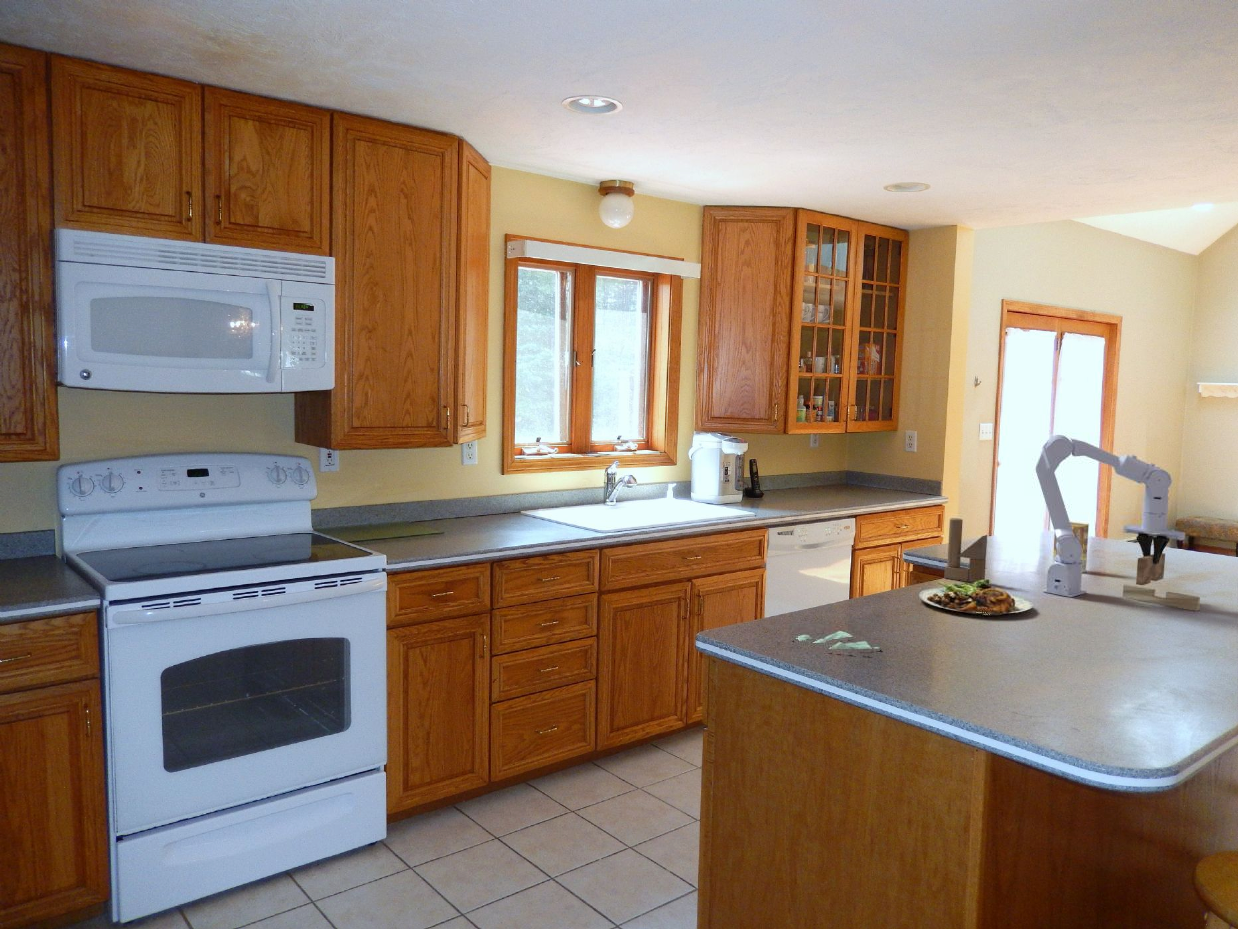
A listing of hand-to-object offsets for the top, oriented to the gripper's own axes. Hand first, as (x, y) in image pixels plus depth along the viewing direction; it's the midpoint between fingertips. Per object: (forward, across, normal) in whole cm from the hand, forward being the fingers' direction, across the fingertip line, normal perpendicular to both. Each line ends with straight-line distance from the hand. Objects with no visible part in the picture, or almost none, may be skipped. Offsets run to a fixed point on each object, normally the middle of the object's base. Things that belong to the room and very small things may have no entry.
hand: (1151, 562), depth 240 cm
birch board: (+10, -3, +1) cm, 11 cm away
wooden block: (+11, +43, +19) cm, 48 cm away
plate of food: (+11, +25, +45) cm, 53 cm away
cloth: (+11, +22, +103) cm, 106 cm away
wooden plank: (+5, 0, 0) cm, 5 cm away
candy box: (+11, +32, -23) cm, 41 cm away
